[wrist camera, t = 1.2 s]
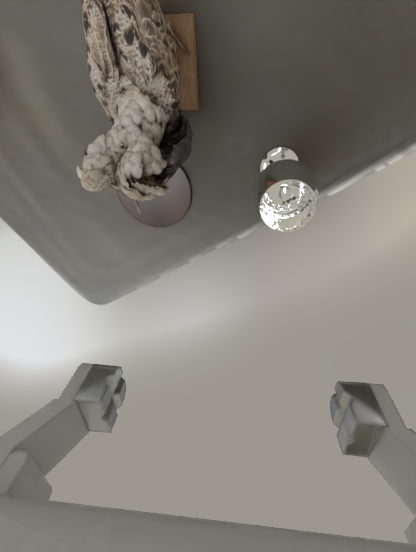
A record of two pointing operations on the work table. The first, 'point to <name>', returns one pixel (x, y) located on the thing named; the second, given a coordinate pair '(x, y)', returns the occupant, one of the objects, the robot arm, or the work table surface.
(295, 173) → the wineglass
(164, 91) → the stuffed bird
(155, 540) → the robot arm
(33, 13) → the work table surface
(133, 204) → the coaster
